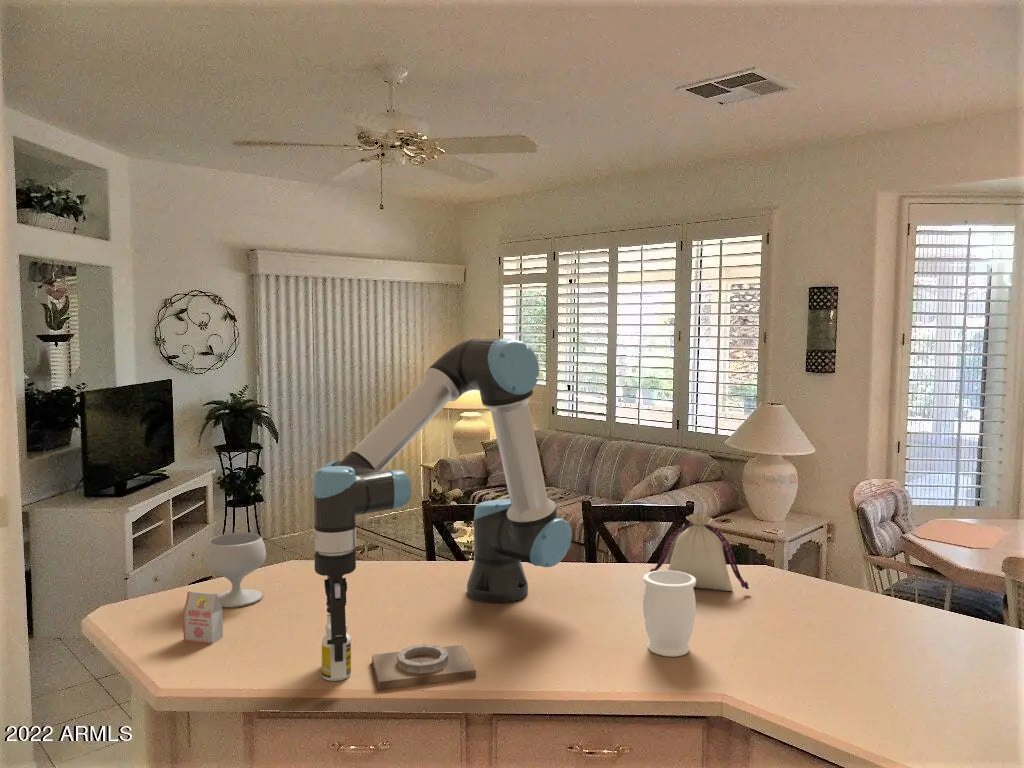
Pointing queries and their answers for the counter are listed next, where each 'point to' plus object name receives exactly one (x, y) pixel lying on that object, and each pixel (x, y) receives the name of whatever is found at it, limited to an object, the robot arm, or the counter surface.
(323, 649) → the supplement bottle
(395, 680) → the mount board
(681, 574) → the jar
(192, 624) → the white carton
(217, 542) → the chalice
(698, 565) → the pouch
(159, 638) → the counter surface
